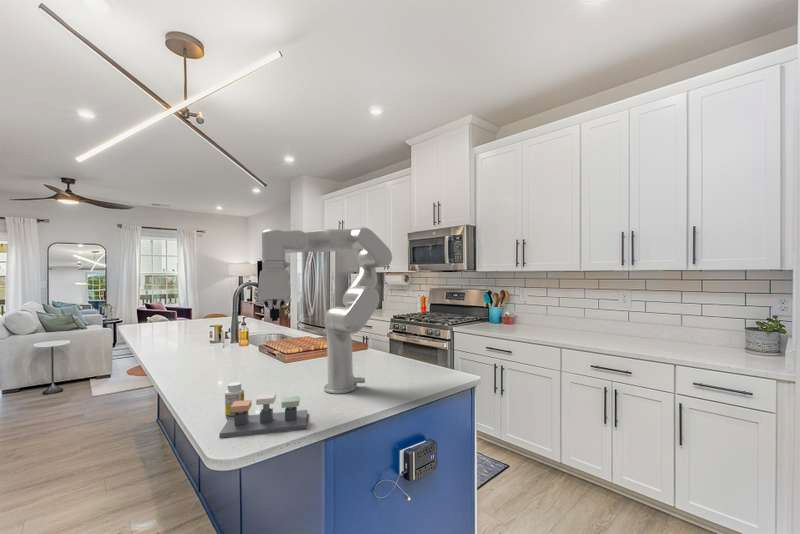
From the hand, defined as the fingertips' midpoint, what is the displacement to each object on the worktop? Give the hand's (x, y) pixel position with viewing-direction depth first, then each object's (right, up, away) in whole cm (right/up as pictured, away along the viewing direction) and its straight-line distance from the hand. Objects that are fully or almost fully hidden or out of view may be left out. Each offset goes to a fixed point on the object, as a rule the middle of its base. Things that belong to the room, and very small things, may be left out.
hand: (275, 320), depth 126 cm
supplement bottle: (-10, -30, -8) cm, 32 cm away
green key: (+10, -26, -14) cm, 31 cm away
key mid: (+3, -25, -15) cm, 29 cm away
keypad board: (+3, -29, -15) cm, 33 cm away
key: (-4, -27, -17) cm, 32 cm away
